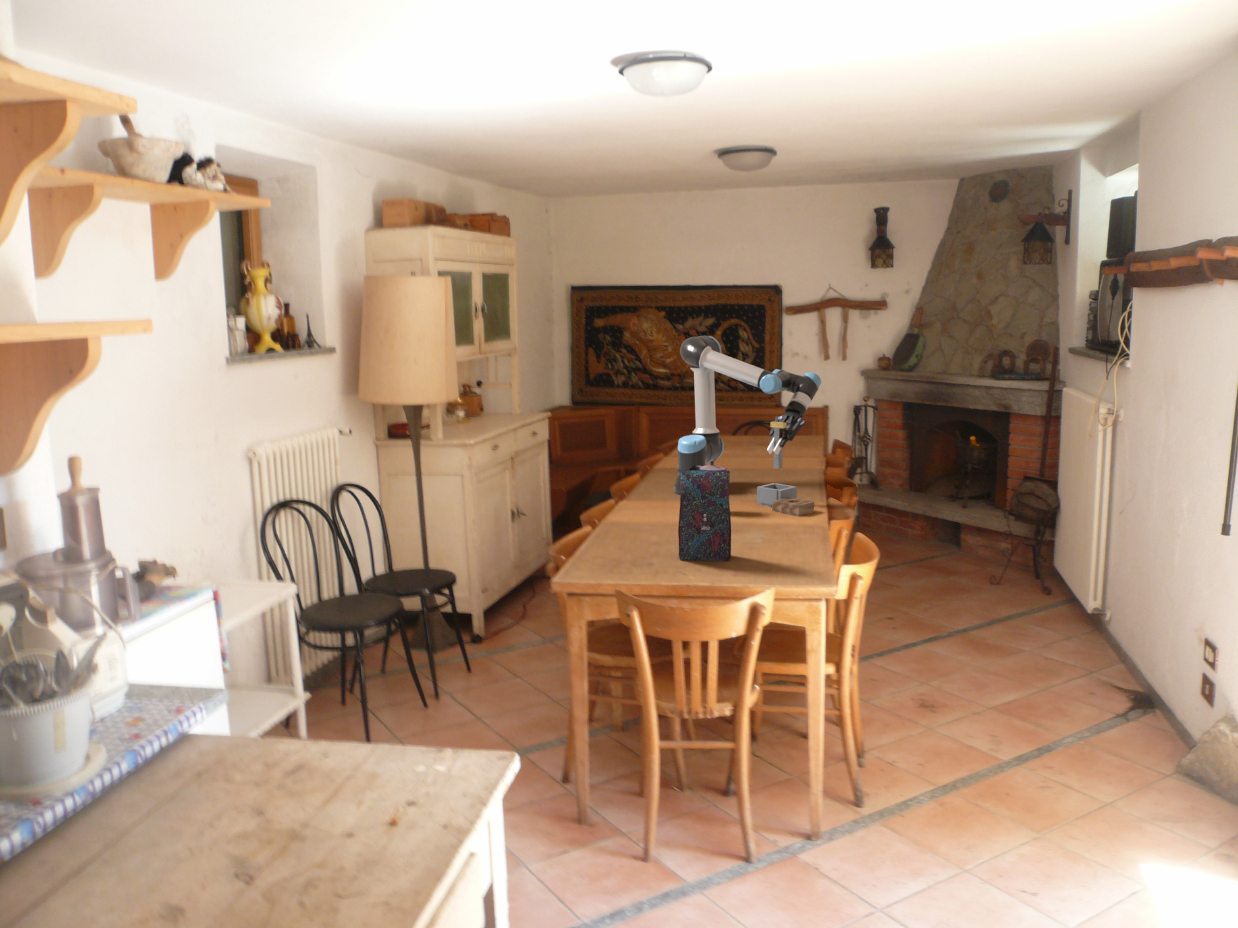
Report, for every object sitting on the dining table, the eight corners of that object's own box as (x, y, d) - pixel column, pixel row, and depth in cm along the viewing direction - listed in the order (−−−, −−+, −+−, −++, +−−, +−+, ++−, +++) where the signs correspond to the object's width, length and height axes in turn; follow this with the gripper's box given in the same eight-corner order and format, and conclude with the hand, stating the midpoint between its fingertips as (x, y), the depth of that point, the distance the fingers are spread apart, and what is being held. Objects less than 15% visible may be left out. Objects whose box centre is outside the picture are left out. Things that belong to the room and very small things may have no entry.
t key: (769, 467, 378) (770, 422, 375) (773, 466, 380) (774, 421, 377) (782, 469, 374) (783, 423, 371) (785, 468, 375) (786, 422, 372)
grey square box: (756, 504, 379) (756, 487, 378) (773, 499, 387) (773, 482, 386) (779, 508, 371) (780, 490, 370) (797, 504, 379) (797, 486, 378)
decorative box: (679, 553, 308) (679, 467, 303) (730, 554, 306) (731, 468, 301) (678, 560, 300) (678, 472, 295) (730, 561, 298) (731, 473, 293)
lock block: (772, 511, 367) (772, 501, 366) (787, 507, 374) (788, 497, 373) (798, 516, 358) (798, 505, 358) (813, 511, 365) (814, 501, 365)
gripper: (818, 413, 378) (792, 460, 370) (785, 410, 389) (760, 456, 381) (810, 401, 374) (784, 448, 365) (778, 398, 385) (752, 444, 376)
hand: (772, 452), depth 373 cm, fingers closed on t key, 2 cm apart
